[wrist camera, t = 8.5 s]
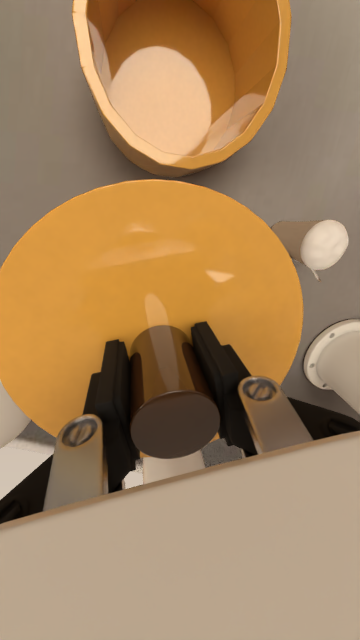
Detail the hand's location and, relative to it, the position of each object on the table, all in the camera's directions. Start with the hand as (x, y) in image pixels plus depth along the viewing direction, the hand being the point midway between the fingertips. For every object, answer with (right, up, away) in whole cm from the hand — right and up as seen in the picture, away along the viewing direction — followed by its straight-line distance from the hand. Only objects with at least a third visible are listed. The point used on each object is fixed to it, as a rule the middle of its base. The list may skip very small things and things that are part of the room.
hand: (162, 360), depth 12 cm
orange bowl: (0, +23, +12) cm, 26 cm away
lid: (0, +1, +1) cm, 1 cm away
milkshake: (+13, +12, +20) cm, 26 cm away
